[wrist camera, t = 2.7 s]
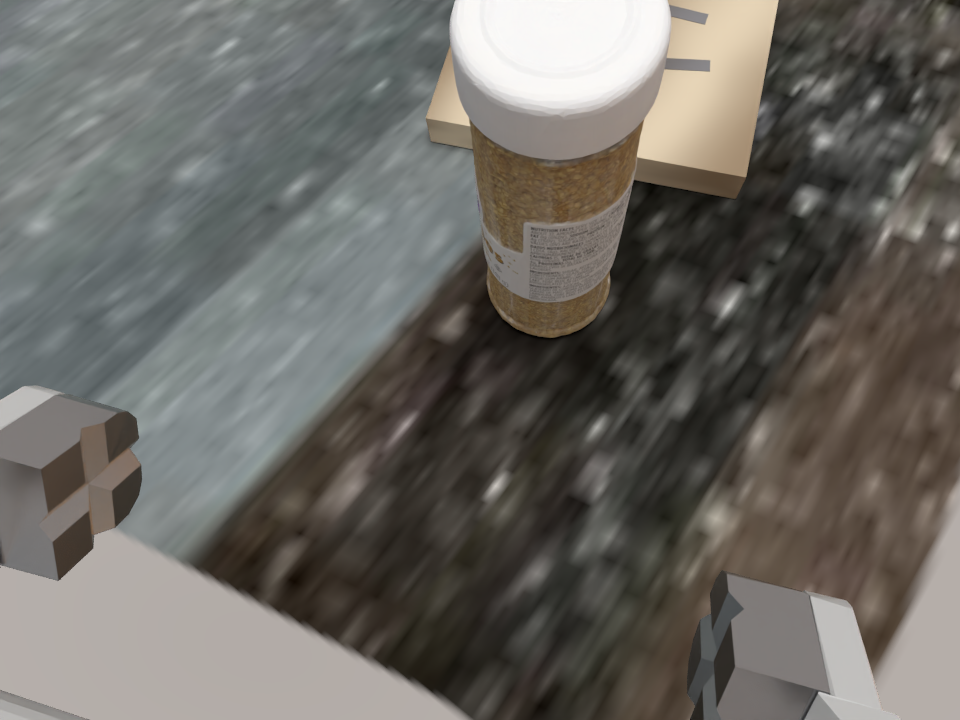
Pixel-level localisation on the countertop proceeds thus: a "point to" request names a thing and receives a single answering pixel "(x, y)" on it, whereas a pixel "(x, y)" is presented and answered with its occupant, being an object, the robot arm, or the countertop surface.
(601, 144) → the sprinkles bottle
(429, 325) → the countertop surface
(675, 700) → the countertop surface
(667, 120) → the maple board
